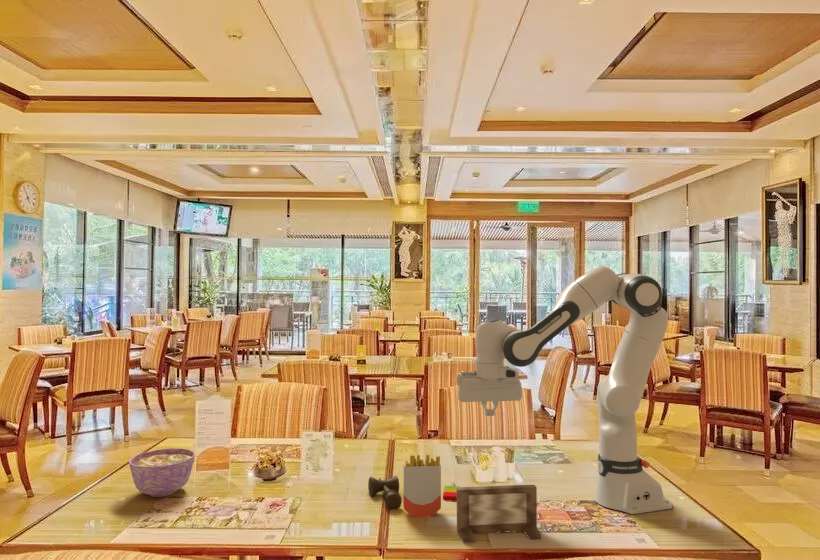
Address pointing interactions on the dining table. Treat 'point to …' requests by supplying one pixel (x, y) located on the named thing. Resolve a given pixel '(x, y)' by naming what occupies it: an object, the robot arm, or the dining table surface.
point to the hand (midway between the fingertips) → (489, 415)
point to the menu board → (497, 510)
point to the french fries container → (422, 486)
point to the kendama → (386, 491)
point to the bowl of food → (161, 470)
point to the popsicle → (450, 492)
